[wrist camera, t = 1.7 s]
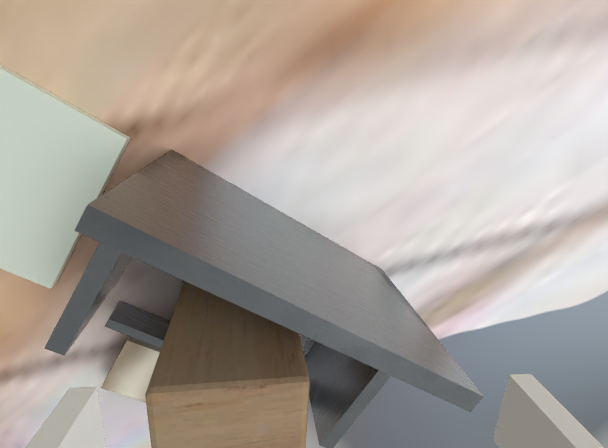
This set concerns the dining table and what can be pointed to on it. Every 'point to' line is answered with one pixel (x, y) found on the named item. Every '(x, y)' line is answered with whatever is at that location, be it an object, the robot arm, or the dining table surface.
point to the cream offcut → (132, 369)
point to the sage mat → (47, 176)
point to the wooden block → (227, 379)
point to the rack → (261, 287)
